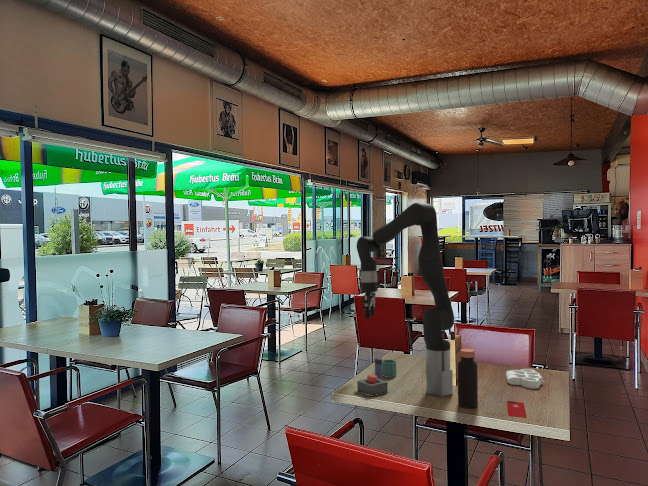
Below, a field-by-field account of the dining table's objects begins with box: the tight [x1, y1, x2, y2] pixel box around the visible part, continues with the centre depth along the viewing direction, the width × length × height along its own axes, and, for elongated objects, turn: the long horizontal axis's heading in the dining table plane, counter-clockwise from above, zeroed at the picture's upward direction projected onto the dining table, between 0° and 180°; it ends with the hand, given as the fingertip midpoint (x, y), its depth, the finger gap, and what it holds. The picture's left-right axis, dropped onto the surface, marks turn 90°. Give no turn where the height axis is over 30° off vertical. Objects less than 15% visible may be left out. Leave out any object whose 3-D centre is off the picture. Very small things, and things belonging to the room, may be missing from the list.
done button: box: [366, 374, 377, 384], centre depth 188 cm, size 4×4×3 cm
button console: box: [356, 378, 389, 396], centre depth 188 cm, size 8×8×4 cm
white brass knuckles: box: [505, 368, 546, 390], centre depth 198 cm, size 3×18×15 cm
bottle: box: [457, 348, 479, 410], centre depth 171 cm, size 7×7×20 cm
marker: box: [374, 357, 383, 380], centre depth 199 cm, size 3×3×10 cm
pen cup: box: [382, 359, 397, 378], centre depth 210 cm, size 6×6×6 cm
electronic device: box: [506, 400, 528, 419], centre depth 167 cm, size 6×1×15 cm
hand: (370, 317), depth 213 cm, fingers open, 8 cm apart
